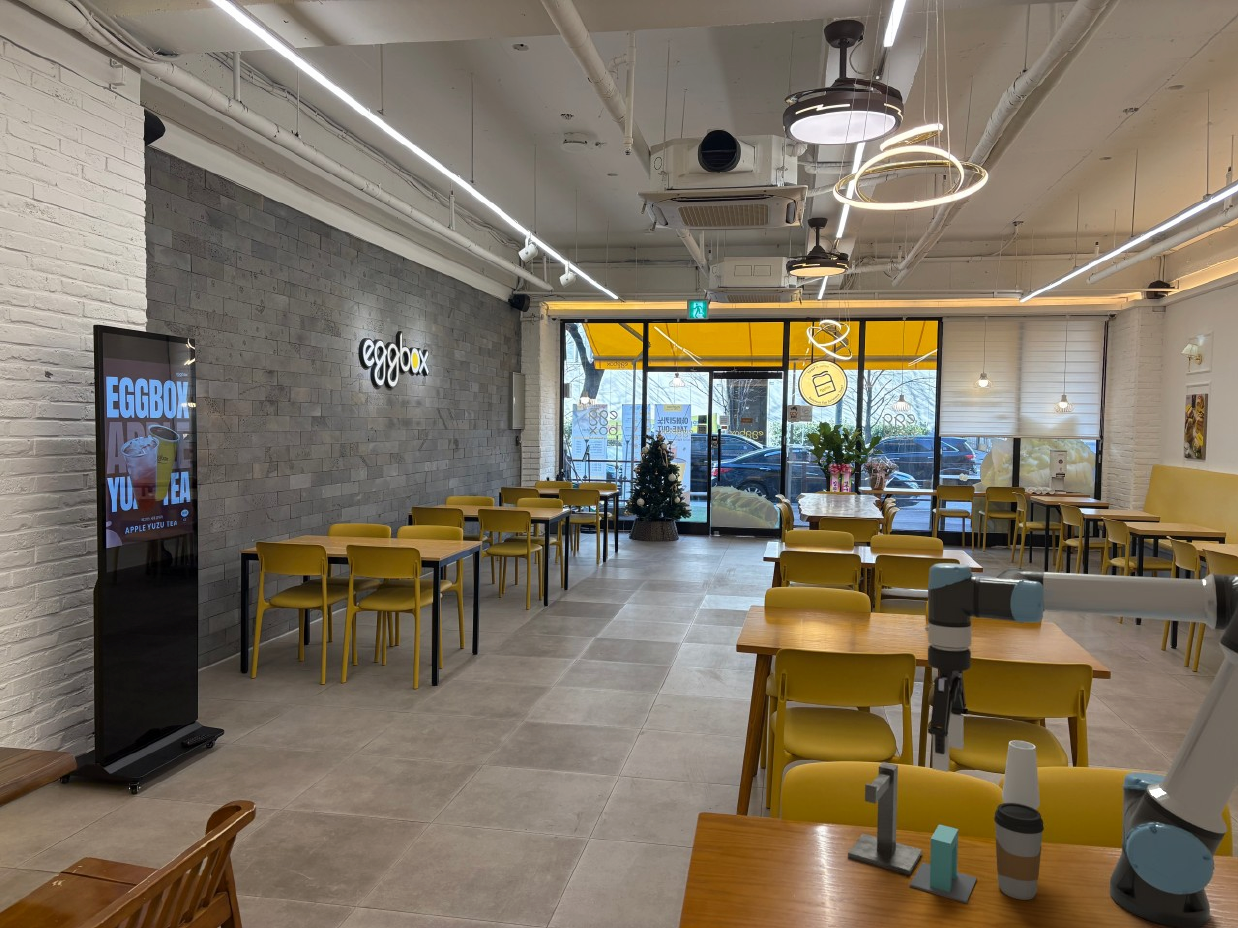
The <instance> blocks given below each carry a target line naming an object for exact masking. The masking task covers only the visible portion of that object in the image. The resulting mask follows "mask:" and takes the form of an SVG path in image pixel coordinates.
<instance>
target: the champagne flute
mask: <svg viewBox="0 0 1238 928" xmlns="http://www.w3.org/2000/svg"><path fill="white" fill-rule="evenodd" d="M1036 748H1037V747H1036V745H1035V744H1034V743H1031V742H1029V741H1028V742H1027V741H1025V740H1010V741H1009V742H1008V748H1007V755H1006V764H1005V772H1004V779H1003V784H1002V785H1003V786H1002V793H1001V797H1002V798H1001V799H1002V802H1003V803H1016V804H1022V805H1026V806H1029V807H1031V808H1033V809H1035V810H1037V811H1038V808H1039V807H1040V805H1041V799H1040V787H1039V776H1038V774H1039V773H1038V762H1037V761H1038V760H1037V750H1036Z"/></svg>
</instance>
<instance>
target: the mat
mask: <svg viewBox="0 0 1238 928" xmlns="http://www.w3.org/2000/svg"><path fill="white" fill-rule="evenodd" d="M977 880H978V878H977V877H976V876H973V875H969V874H966V873H961V872H959V871H957V877H956V879H953V878H952V879H951V890H950V892H948V891H944V890H941V889H938V888H934V887H931V886H930V863H927V862H926V863H925V862H921V864H920V866H919V867H918V869H917V871H916V873H915V874H914V876H913V878H912V879H911V881H910V883H909V887H911V888H913V889H917V890H920V891H924V892H928V893H929V894H930V893H931V894H934V895H937V896H940V897H944V898H948V899H951V900H953V901H957V902H960V903H964V904H968V902H969V899H970V896H972V895H971V894H972V892H973V890H974V887H975V885H976V882H977Z"/></svg>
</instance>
